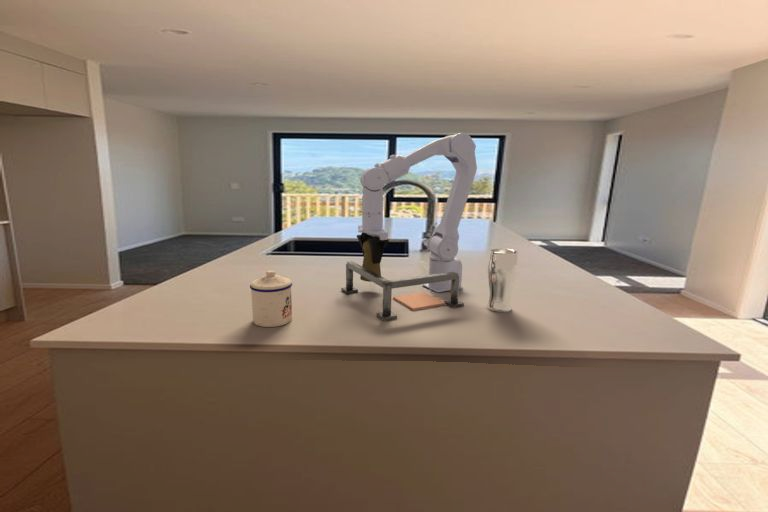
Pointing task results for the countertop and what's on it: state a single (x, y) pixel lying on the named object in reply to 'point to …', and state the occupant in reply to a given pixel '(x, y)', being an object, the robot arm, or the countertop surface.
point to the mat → (418, 301)
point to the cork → (369, 261)
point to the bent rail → (398, 283)
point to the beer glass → (501, 278)
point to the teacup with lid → (271, 300)
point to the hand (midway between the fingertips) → (372, 261)
